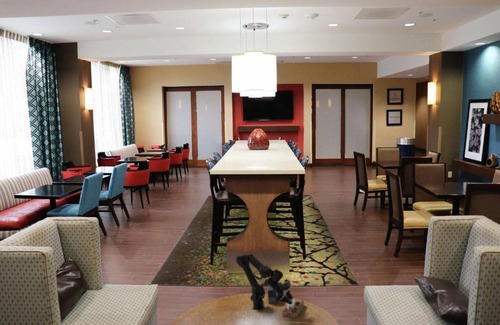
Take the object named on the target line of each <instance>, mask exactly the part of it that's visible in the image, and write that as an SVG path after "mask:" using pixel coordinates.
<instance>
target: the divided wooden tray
mask: <svg viewBox="0 0 500 325" xmlns="http://www.w3.org/2000/svg"><path fill="white" fill-rule="evenodd" d="M304 306H305V303H304V300H303V299H302V300H301V301H297V300H295V307H296V311H295V312H296V313H292V310H288V309H287V305H286V306H285V308H284V309H283V310H282V312H281V314H282V318H283V317H287V318H298V316H299V315H300V313H301V312H302V309H303V308H304Z"/></svg>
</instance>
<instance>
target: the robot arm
mask: <svg viewBox="0 0 500 325" xmlns="http://www.w3.org/2000/svg"><path fill="white" fill-rule="evenodd" d="M235 261H236V263H237V265H238V266H239V267H240V268H241V269H243V271H244V275H245V276H246V278H247V280H248V281H249V282H248V283H249V284H250V286H251V295H250V297H249V299H250V301H252V306H253V307H252V310H256V311H257V310H259V311H260V310H262V309H263V308H264V307H265V303H264V301H265V300H264V299H265V296H266V291H265V290H266V289H265V288H264V286H263V285H262V284H259V283H258V281H257V278H256V276H255V274H254V273H253V270H252V269H251V266H250V265H252V266H253V268H255V269H256V270H257V271H258V274H259V275H260V276H261V278H262V279H265V280H264V285H269V286H270V287H271V288H272V289H273V291H275V292H276V293H277V295H278V296H277V297H276V298H275V300H276V301H277V303H279V302H283V303H288V304H292V303H291V301H290V300H289V299H295V298H294V297H293V295H292V293H291V285H292V284H291V281H290V280H289V279H288V278H285V279H284V282H282V281H281V280H282V279H283V277H284V274H283V271H281V270H278V269H277V268H275V269H274V270H273V269H272V268H270V267H269V266H267V265H264V264H263V263H262V262H260V261H259V260H258V258H256V257H255V256H254V254H253V253H249V254H246V253H243V254H240V255H238V256H236V259H235ZM280 281H281V282H280ZM288 298H289V299H288Z"/></svg>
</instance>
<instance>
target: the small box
mask: <svg viewBox="0 0 500 325" xmlns="http://www.w3.org/2000/svg"><path fill="white" fill-rule="evenodd" d="M267 285H268V284H267ZM277 296H278V295H277V293H276V292H275V291H273V289H272V288H271V287H270V286H269V285H268V286H267V301H268V305H270V304H278V302H277V301H276V300H275V298H276V297H277Z"/></svg>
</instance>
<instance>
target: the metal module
mask: <svg viewBox="0 0 500 325" xmlns="http://www.w3.org/2000/svg"><path fill="white" fill-rule="evenodd" d="M288 299H289V298H288ZM289 300H290V301H291V303H292V304H288V303H286V306H287V309H288V310H292V313H296V312H295V311H296V307H295V301H296V299H295V298H294V299H289Z"/></svg>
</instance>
